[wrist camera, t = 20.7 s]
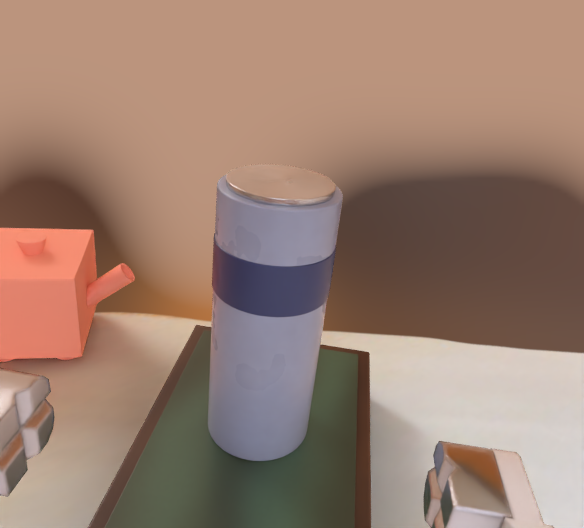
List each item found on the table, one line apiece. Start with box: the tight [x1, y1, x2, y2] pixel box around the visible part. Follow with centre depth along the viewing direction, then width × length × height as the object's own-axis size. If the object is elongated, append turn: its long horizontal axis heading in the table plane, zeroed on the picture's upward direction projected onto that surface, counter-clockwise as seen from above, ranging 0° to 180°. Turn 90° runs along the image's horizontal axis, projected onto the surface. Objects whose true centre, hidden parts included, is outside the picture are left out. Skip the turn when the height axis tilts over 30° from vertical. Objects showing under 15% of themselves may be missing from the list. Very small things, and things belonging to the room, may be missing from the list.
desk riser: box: [88, 325, 371, 528], centre depth 29 cm, size 12×17×4 cm
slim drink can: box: [208, 164, 343, 461], centre depth 25 cm, size 5×5×14 cm
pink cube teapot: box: [0, 228, 135, 362], centre depth 37 cm, size 8×12×8 cm, turn 100°
